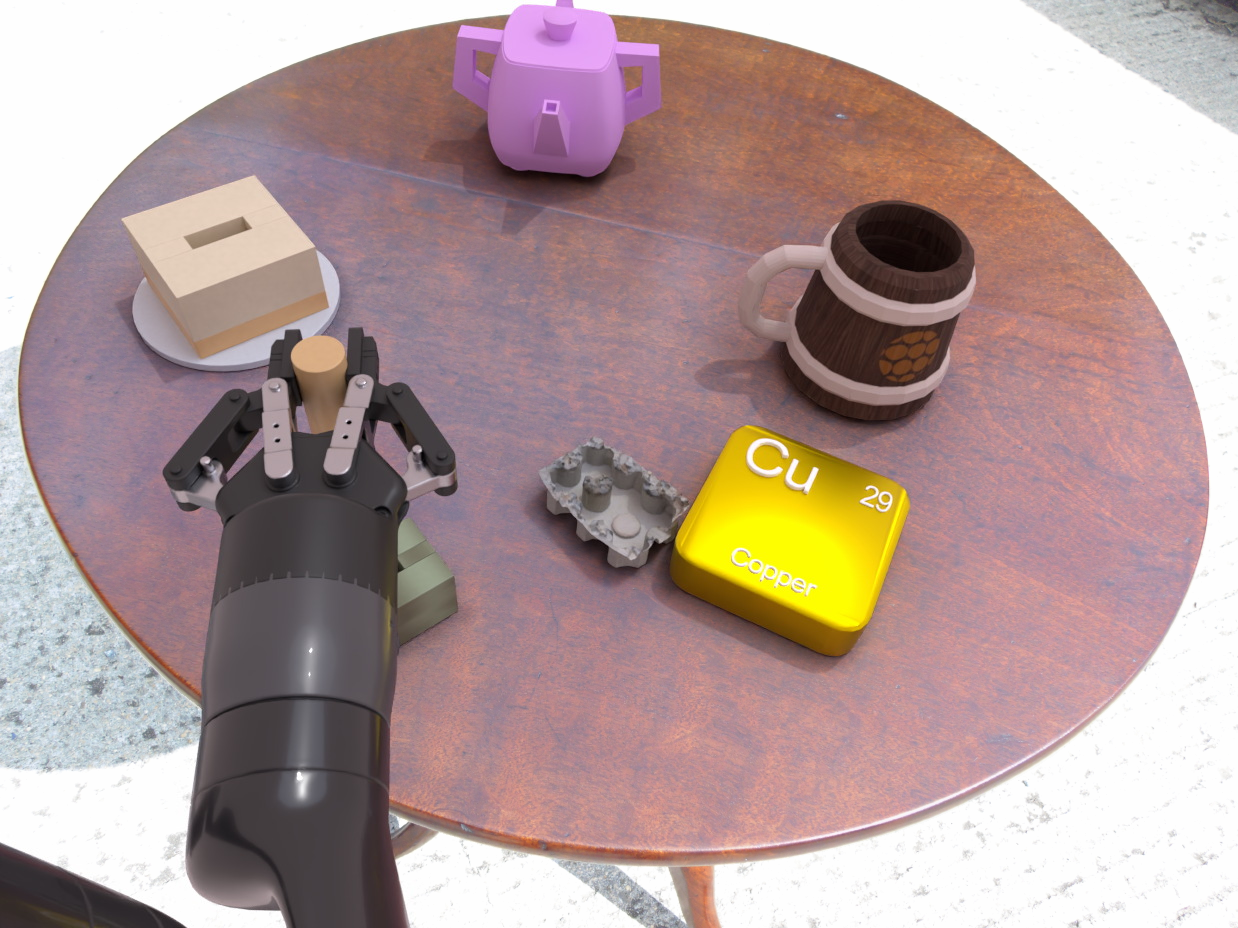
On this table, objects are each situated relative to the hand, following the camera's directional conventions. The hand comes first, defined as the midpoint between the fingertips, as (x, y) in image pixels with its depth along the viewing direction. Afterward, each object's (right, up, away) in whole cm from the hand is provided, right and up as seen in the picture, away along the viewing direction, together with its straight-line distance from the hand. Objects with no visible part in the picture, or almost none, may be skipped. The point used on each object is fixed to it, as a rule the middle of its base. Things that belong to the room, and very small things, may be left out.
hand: (326, 340), depth 49 cm
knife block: (-1, -17, +17) cm, 25 cm away
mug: (+35, +3, +37) cm, 51 cm away
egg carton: (+15, -11, +24) cm, 31 cm away
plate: (-19, +9, +36) cm, 42 cm away
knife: (-1, -11, +9) cm, 14 cm away
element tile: (+29, -13, +24) cm, 40 cm away
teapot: (+9, +29, +55) cm, 63 cm away
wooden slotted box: (-19, +9, +36) cm, 42 cm away
